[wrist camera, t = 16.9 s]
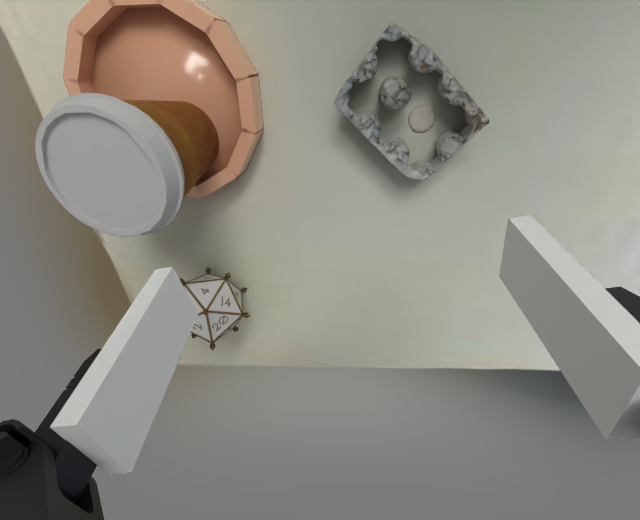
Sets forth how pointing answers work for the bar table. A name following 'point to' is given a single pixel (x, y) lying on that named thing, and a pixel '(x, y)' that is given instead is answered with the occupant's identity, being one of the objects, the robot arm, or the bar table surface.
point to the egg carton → (422, 116)
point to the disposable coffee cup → (124, 159)
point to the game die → (214, 306)
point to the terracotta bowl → (171, 70)
